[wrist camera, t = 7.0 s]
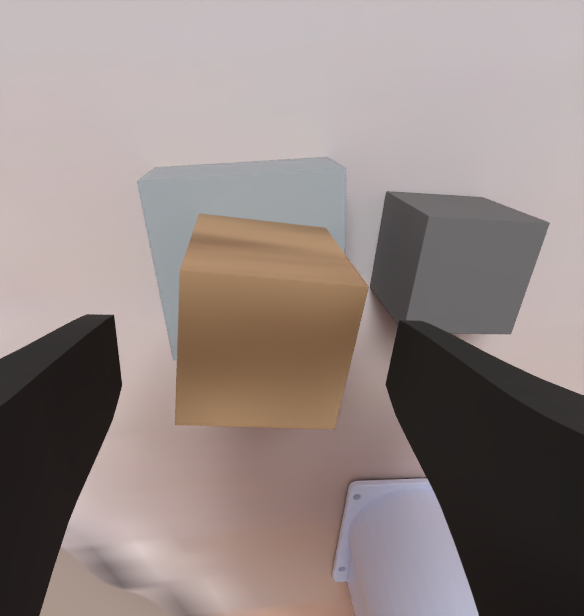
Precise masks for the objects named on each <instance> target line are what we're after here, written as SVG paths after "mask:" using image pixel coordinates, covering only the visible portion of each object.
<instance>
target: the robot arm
mask: <svg viewBox="0 0 584 616" xmlns="http://www.w3.org/2000/svg"><path fill="white" fill-rule="evenodd" d="M121 387H122V380H121V371H120V363H119V354H118V345H117V337H116V328H115V320H114V315H89V314H87V315H85V316H82V317H80V318H78V319H76V320H73V321H71V322H70V323H68V324H66V325H64V326H62V327H60V328H58V329H56V330H55V331H53V332H51V333H49V334H47V335H45V336H43V337H42V338H40V339H38V340H36V341H34V342H32V343H30V344H29V345H27V346H25V347H23V348H21V349H19V350H17V351H15V352H13V353H11V354H9V355H7V356H5V357H3V358H1V359H0V616H39V615H40V611H41V608H42V605H43V602H44V598H45V595H46V591H47V588H48V585H49V582H50V578H51V575H52V571H53V568H54V565H55V562H56V559H57V556H58V553H59V550H60V547H61V544H62V541H63V537H64V534H65V531H66V528H67V525H68V522H69V520H70V517H71V515H72V512H73V509H74V507H75V504H76V502H77V500H78V497H79V495H80V493H81V491H82V488H83V486H84V484H85V482H86V479H87V477H88V475H89V473H90V470H91V468H92V466H93V464H94V461H95V459H96V457H97V455H98V452H99V450H100V448H101V446H102V443H103V441H104V439H105V436H106V434H107V432H108V430H109V427H110V425H111V422H112V420H113V417H114V413H115V410H116V406H117V403H118V399H119V395H120V391H121ZM386 387H387V390H388V393H389V397H390V400H391V403H392V406H393V409H394V412H395V414H396V417H397V419H398V421H399V423H400V425H401V427H402V429H403V431H404V433H405V435H406V438H407V440H408V442H409V444H410V445H411V447H412V449H413V451H414V453H415V455H416V457H417V459H418V461H419V463H420V465H421V467H422V469H423V471H424V473H425V475H426V477H427V478H419V479H392V480H365V481H354V482H352V483H351V484H350V485H349V487H348V493H347V498H346V503H345V508H344V514H343V519H342V524H341V529H340V535H339V540H338V545H337V550H336V556H335V561H334V566H333V571H332V576H333V580H334V581H336V582H347V583H348V587H349V591H350V596H351V600H352V605H353V609H354V613H355V616H584V395H581V394H578V393H575V392H573V391H570V390H568V389H565V388H563V387H560V386H558V385H555V384H553V383H550V382H548V381H545V380H543V379H541V378H538V377H536V376H534V375H532V374H529V373H527V372H525V371H523V370H521V369H519V368H517V367H514V366H512V365H510V364H508V363H506V362H504V361H502V360H500V359H498V358H496V357H494V356H492V355H490V354H488V353H486V352H484V351H482V350H480V349H478V348H477V347H475V346H473V345H471V344H469V343H467V342H465V341H463V340H461V339H459V338H458V337H456V336H454V335H452V334H450V333H448V332H446V331H444V330H442V329H440V328H438V327H436V326H434V325H431V324H429V323H426V322H424V321H412V320H399V324H398V328H397V333H396V338H395V343H394V347H393V352H392V357H391V362H390V366H389V371H388V376H387V381H386Z"/></svg>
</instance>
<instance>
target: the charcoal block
mask: <svg viewBox="0 0 584 616" xmlns="http://www.w3.org/2000/svg"><path fill="white" fill-rule="evenodd" d="M549 224H550V223H549V222H546V221H544V220H541V219H538V218H536V217H533V216H531V215H528V214H525V213H523V212H520V211H517V210H515V209H512V208H510V207H507V206H504V205H502V204H499V203H496V202H494V201H491V200H489V199H486V198H483V197H469V196H453V195H437V194H421V193H405V192H389V191H387V193H386V198H385V204H384V210H383V216H382V222H381V227H380V233H379V239H378V245H377V250H376V256H375V262H374V268H373V274H372V279H371V285H370V287H371V289H372V290H373V292H374V293H375V294H376V296H377V297H378V299H379V300H380V301H381V303H382V304H383V305H384V307H385V308H386V310H387V311H388V312H389V314H390V315H391V317H392V318H393V319H394V321H395V322H396V324H397V325H398V324H399V320H412V321H424V322H426V323H429V324H431V325H434V326H436V327H438V328H440V329H442V330H444V331H446V332H448V333H454V334H511V332H512V330H513V327H514V324H515V321H516V318H517V315H518V312H519V310H520V307H521V304H522V301H523V298H524V295H525V292H526V289H527V287H528V284H529V281H530V278H531V275H532V272H533V269H534V267H535V264H536V261H537V258H538V255H539V252H540V249H541V246H542V244H543V241H544V238H545V235H546V232H547V229H548V226H549Z"/></svg>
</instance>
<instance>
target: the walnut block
mask: <svg viewBox="0 0 584 616" xmlns="http://www.w3.org/2000/svg"><path fill="white" fill-rule="evenodd" d="M368 288H369V287H368V285H367V284H366V283H365V281H364V280H363V278H362V277H361V276H360V274H359V273H358V272H357V270H356V269H355V267H354V266H353V265H352V263H351V262H350V260H349V259H348V258H347V256H346V255H345V254H344V252H343V251H342V249H341V248H340V247H339V245H338V244H337V242H336V241H335V240H334V238H333V237H332V236H331V234H330V233H329V231H328V230H327V229H326V228H324V227H315V226H306V225H298V224H289V223H280V222H271V221H262V220H253V219H244V218H235V217H226V216H217V215H208V214H199V215H198V218H197V221H196V224H195V227H194V230H193V233H192V236H191V239H190V242H189V245H188V247H187V250H186V253H185V256H184V259H183V262H182V265H181V268H180V276H179V309H178V343H177V376H176V409H175V425H198V426H233V427H268V428H303V429H335V426H336V422H337V418H338V414H339V410H340V405H341V401H342V397H343V393H344V389H345V384H346V380H347V376H348V372H349V368H350V363H351V359H352V355H353V351H354V347H355V342H356V338H357V334H358V330H359V326H360V321H361V317H362V313H363V309H364V305H365V300H366V296H367V292H368Z"/></svg>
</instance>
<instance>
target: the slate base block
mask: <svg viewBox="0 0 584 616" xmlns="http://www.w3.org/2000/svg"><path fill="white" fill-rule="evenodd" d="M137 184H138V189H139V194H140V199H141V204H142V209H143V214H144V218H145V223H146V228H147V233H148V238H149V243H150V248H151V253H152V258H153V263H154V268H155V273H156V278H157V283H158V288H159V293H160V298H161V302H162V307H163V312H164V317H165V322H166V327H167V332H168V337H169V342H170V347H171V352H172V357H173V360H177V343H178V309H179V276H180V268H181V265H182V262H183V259H184V256H185V253H186V250H187V247H188V245H189V242H190V239H191V236H192V233H193V230H194V227H195V224H196V221H197V218H198V215H199V214H208V215H217V216H226V217H235V218H244V219H253V220H262V221H271V222H280V223H289V224H298V225H306V226H315V227H324V228H326V229H327V230H328V231H329V233H330V234H331V236H332V237H333V238H334V240H335V241H336V242H337V244H338V245H339V247H340V248H341V249H342V251H343V252H344V254H345V215H346V167H344V166H342V165H340V164H339V163H337V162H335V161H334V160H332V159H330V158H328V157H318V158H302V159H285V160H269V161H253V162H236V163H220V164H203V165H187V166H171V167H155V168H154V169H152V170H151V171H150V172H148V173H147V174H146V175H144V176H143V177H142V178H140V179H139V180H138V181H137Z"/></svg>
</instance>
